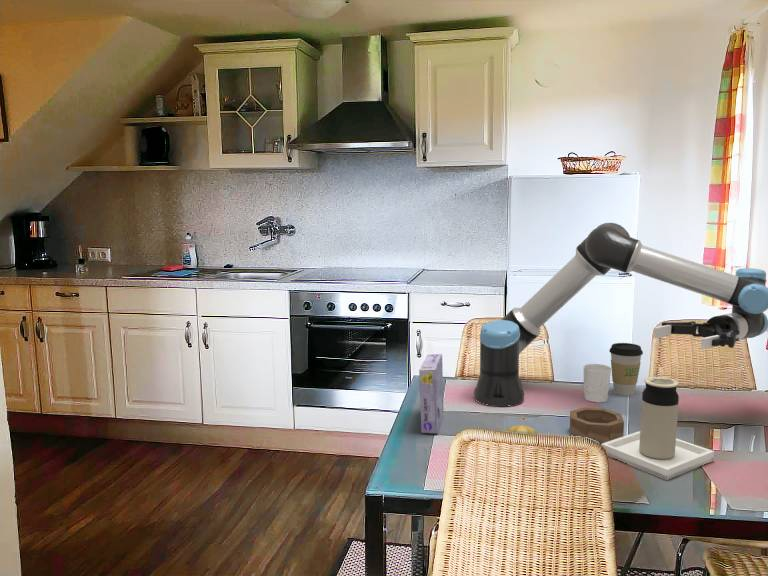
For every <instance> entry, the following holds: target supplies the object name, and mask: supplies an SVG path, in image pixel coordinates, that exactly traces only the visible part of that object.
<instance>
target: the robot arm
mask: <svg viewBox="0 0 768 576" xmlns="http://www.w3.org/2000/svg"><path fill="white" fill-rule="evenodd" d="M610 270H615V271H619V272H623V273H626V274H628V273H631V272H634V273H636V274H640V275H643V276H646V277H648V278H651V279H655V280H658V281H660V282H664V283H667V284H668V285H673V286H676V287H678V288H681V289H685V290H687V291H690V292H693V293H697V294H700V295H702V296H705V297H708V298H711V299H715V300H717V301H721V302H723V303H727V304H728V305H730V306H732V307H731V313H725V314H722V315H721V314H720V315H717V316H715V315H714V316H712V317H711V318H709V319H708V320H707V321H706V322H703V323H699V322H697V323H696V321H685V322H682V321H680V322H678V321H677V322H675V321H674V322H673V321H672V322H668V321H667V322H661V326H660V325H659V326H655V327H653V331H652V332H653V333H652V338H653V339H658V338H663V337H669V336H672V335H686V336H687V335H691V336H693V337H696V338H697V337H698V338H701V341H700V350H702V351H703V350H704V351H705V350H708V349H711V348H716V347H725V346H727V347H728V348H730V349H733V348H735V345H736V342H739V341H740V340H745V339H751V338H756V337H758V336H761V335H763V334H764V333H765V332H766V331H767V330H768V317H767V315H766V314H765V313H764V312H766V311H767V310H768V287H767V286H766V283H767V271H765V270H764V269H760V268H752V267H751V268H749V267H743V268H742V267H741V268H738V269H736V271H735V274H732V273H729V272H726V271H722V270H720V269H715V268H713V267H710V266H708V265H705V264H700V263H698V262H694V261H692V260H689V259H686V258H682V257H680V256H677V255H675V254H674V255H673V254H671V253H667V252H664V251H661V250H658V249H655V248H652V247H649V246H646V245H643V244H642V242H641V240H639V239H636V238H635V237H631V236H630V233H629V231H628V230H626V228H625V227H623V226H622V225H621V224H618V223H616V222H615V223H614V222H605V223H602V224H600V225H598V226H597V227H596V228H595V229H592V231H591V232H590V233H589V234H588V235H587V237H586V238H585V239H583V240H582V241H581V243H579V244H578V245H577V246H576V247H575V254H574V256H573V257H572V258H571V259H570V260H569V261H568V262H567V263H566V264H565V265H564V266H563V267H562V268H561V269H560V270H558V272H556V273H555V274H554V275H553V276H552V277H551V278H550V279H549V280H548V281H547V282H546V283H545V284H544V285H543V286H542V287H541V288H539V290H538V291H537V292H536V293H534V295H533V296H531V297H530V298H529V299H528V300H527V301H526V302H525V303H524V304H523V305H522V306H521V307H513V308H512V309H511V310H510V311H509V312H508V313H507V314H506V315H505V316H503V318H502V319H495V320H491V321H487V322H485V323H484V324H483V325H482V326H481V328H480V334H479V341H480V342H479V343H480V344H479V347H480V349H479V353H480V354H479V376H478V379H477V382H476V387H475V388H474V390H473V399H474V398H475V399H476V400H477V401H479V402H481V403H480V404H482V403H484V404H483V405H485V404H488V405H487V406H490V405H495V406H494V407H500V406H505V407H509V406H508V405H514V406H517V405H516V404H518V405H520V404H519V403H521V402H522V403H523V402H524V401H525V391H524V389H523V385H522V382H521V378H520V375H519V374H520V373H519V372H520V371H519V370H520V354H521V353H522V352H523V350H525V349H527V347H528V346H529V345H530V344H532V343H533V341H534V340H535V339H536V338H538V337H539V336H540V334H541V327H543V325H545V324H546V323H547V322H548V321H549V320H550V319H551V318H552V317H553V316H554V315H555V314H557V312H559V311H560V310H561V309H562V308H563V307H564V306H565V305H566V304H568V302H569V301H570V300H571V299H573V298H574V297H575V296H576V295H577V294H578V293H579V292H580V291H581V290H583V288H585V286H587V284H589V283H590V282H591V281H592V280H593V279H594V278H595V277H597V276H605V275H606V274H607V273H608V272H609V271H610ZM475 399H474V400H475ZM476 400H475V401H476ZM477 401H476V402H477ZM479 402H478V403H479ZM522 403H521V404H522Z"/></svg>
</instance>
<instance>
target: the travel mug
mask: <svg viewBox="0 0 768 576" xmlns="http://www.w3.org/2000/svg"><path fill="white" fill-rule="evenodd" d="M643 382H644V383H645V388H644V389H643V391H642V394H641V412H640V430H639V431H640V444H639V451H640V452H641V453H642V454H644V455H645V456H648V457H651V458H655V459H669V458H672V457H674V456H675V446H676V438H677V430H678V413H679V401H680V400H679V399H680V396H679V394H678V392H677V388H678V386H679V382H678V381H677V380H675V379H673V378H669V377H663V376H649V377H646V378H644V380H643Z"/></svg>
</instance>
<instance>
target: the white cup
mask: <svg viewBox="0 0 768 576" xmlns="http://www.w3.org/2000/svg"><path fill="white" fill-rule="evenodd" d="M611 374H612V369H611V366H610V365H609V366H608V365H605V364H601V363H588V364H584V365H583V394H584V395H583V397H584V400H585V401H587V402H590V403H591V402H592V403H605V402H608V400H609V399H608V398H609V392H610V391H609V390H610V383H611Z"/></svg>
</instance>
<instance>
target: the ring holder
mask: <svg viewBox="0 0 768 576" xmlns="http://www.w3.org/2000/svg"><path fill="white" fill-rule="evenodd" d="M624 427H625V420H624V418H623V415H622V414H621V413H619V412H616V411H612V410H610V409H607V408H603V407H602V408H599V407H580V408H577V409H574V410H571V411H569V434H570V436H571V435H573V436H581V437H588V438H591V439H593V440H596V441H598V442H599V443H605V442H608V441H611V440H614V439H617V438H620V437H623V436H624V432H625V431H624V429H625V428H624Z"/></svg>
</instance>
